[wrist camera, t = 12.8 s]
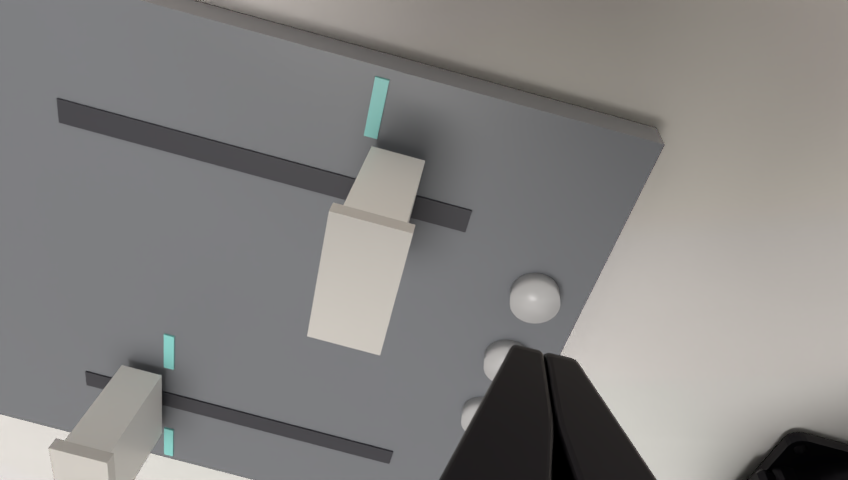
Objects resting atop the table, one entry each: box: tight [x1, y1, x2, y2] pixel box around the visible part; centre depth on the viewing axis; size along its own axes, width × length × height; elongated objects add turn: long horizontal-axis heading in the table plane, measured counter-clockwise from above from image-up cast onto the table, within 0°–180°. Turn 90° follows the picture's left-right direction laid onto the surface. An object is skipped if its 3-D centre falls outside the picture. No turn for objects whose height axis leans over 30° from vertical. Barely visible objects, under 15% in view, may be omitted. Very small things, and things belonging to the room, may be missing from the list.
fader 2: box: [307, 146, 425, 355], centre depth 17 cm, size 2×4×4 cm, turn 166°
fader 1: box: [49, 365, 162, 480], centre depth 23 cm, size 2×4×4 cm, turn 167°
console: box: [0, 0, 665, 480], centre depth 23 cm, size 22×20×2 cm
